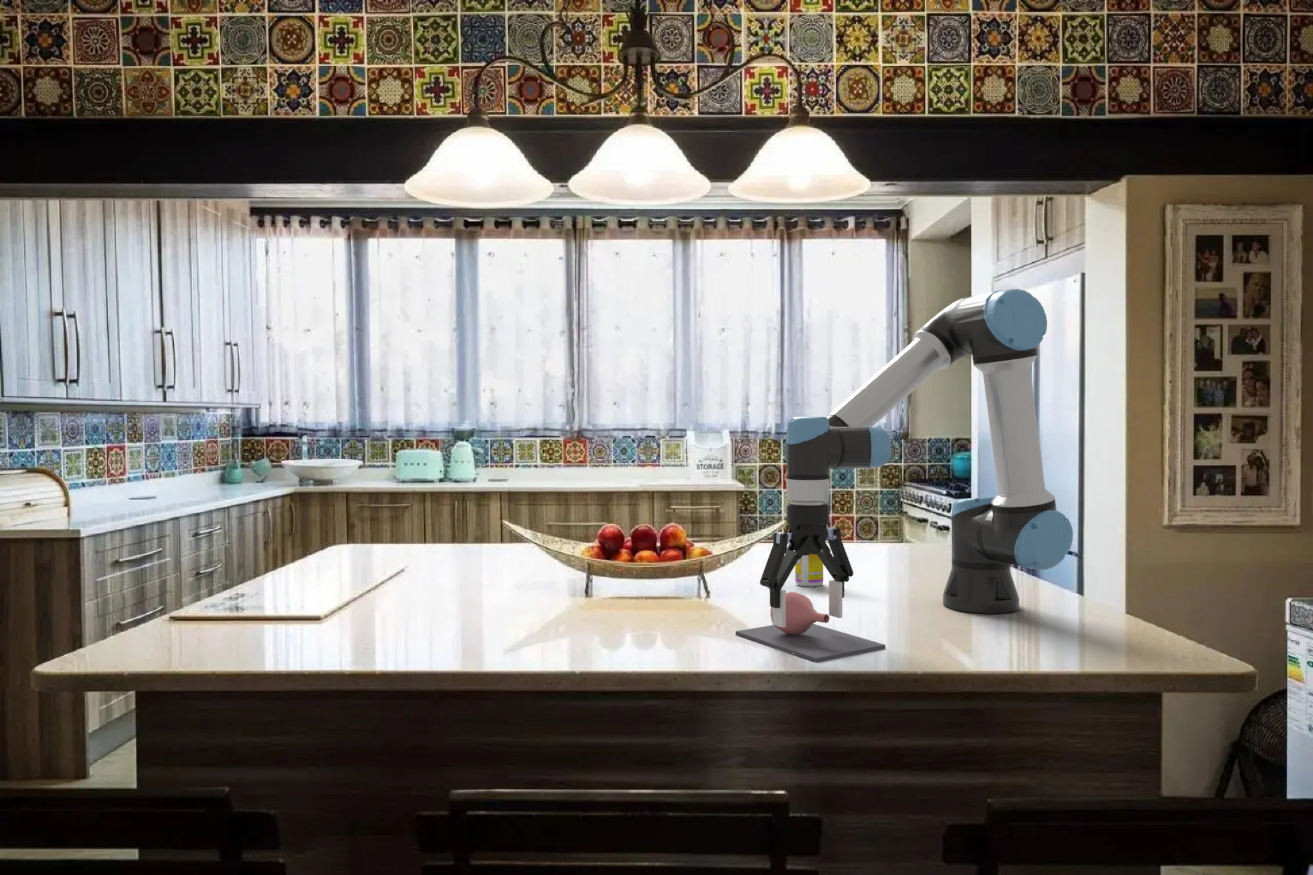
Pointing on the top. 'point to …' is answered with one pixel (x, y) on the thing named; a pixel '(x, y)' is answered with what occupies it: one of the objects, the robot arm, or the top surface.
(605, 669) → the top surface
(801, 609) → the pink vase
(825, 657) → the mat
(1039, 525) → the robot arm
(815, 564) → the supplement bottle
